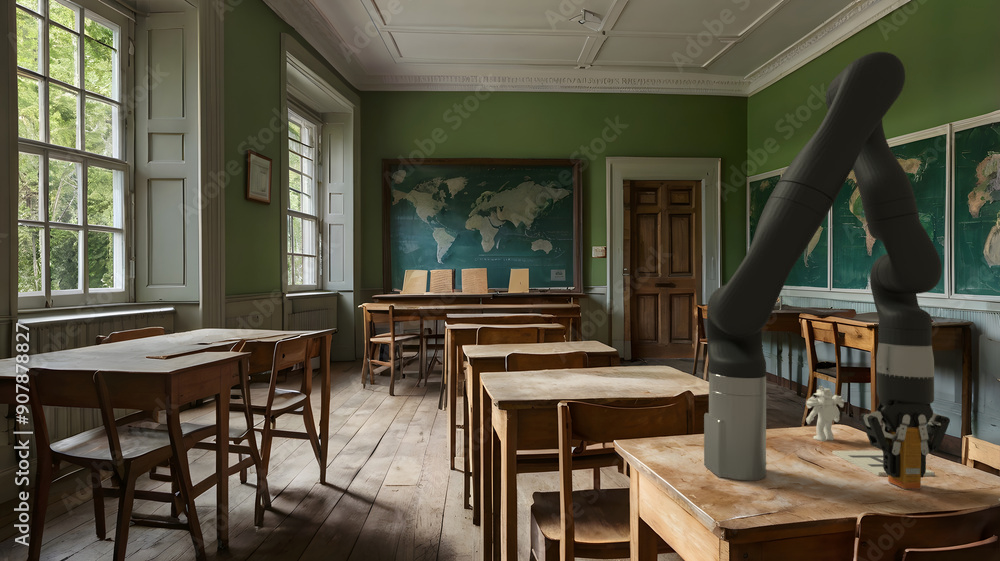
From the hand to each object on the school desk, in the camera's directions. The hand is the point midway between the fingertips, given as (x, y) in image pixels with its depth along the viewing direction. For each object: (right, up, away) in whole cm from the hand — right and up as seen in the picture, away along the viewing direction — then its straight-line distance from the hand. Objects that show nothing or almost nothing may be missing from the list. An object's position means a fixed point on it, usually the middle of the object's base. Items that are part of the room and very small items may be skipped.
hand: (904, 475), depth 86 cm
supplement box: (0, -2, 0) cm, 2 cm away
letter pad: (+4, -2, +11) cm, 11 cm away
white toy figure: (+3, -2, +27) cm, 27 cm away
